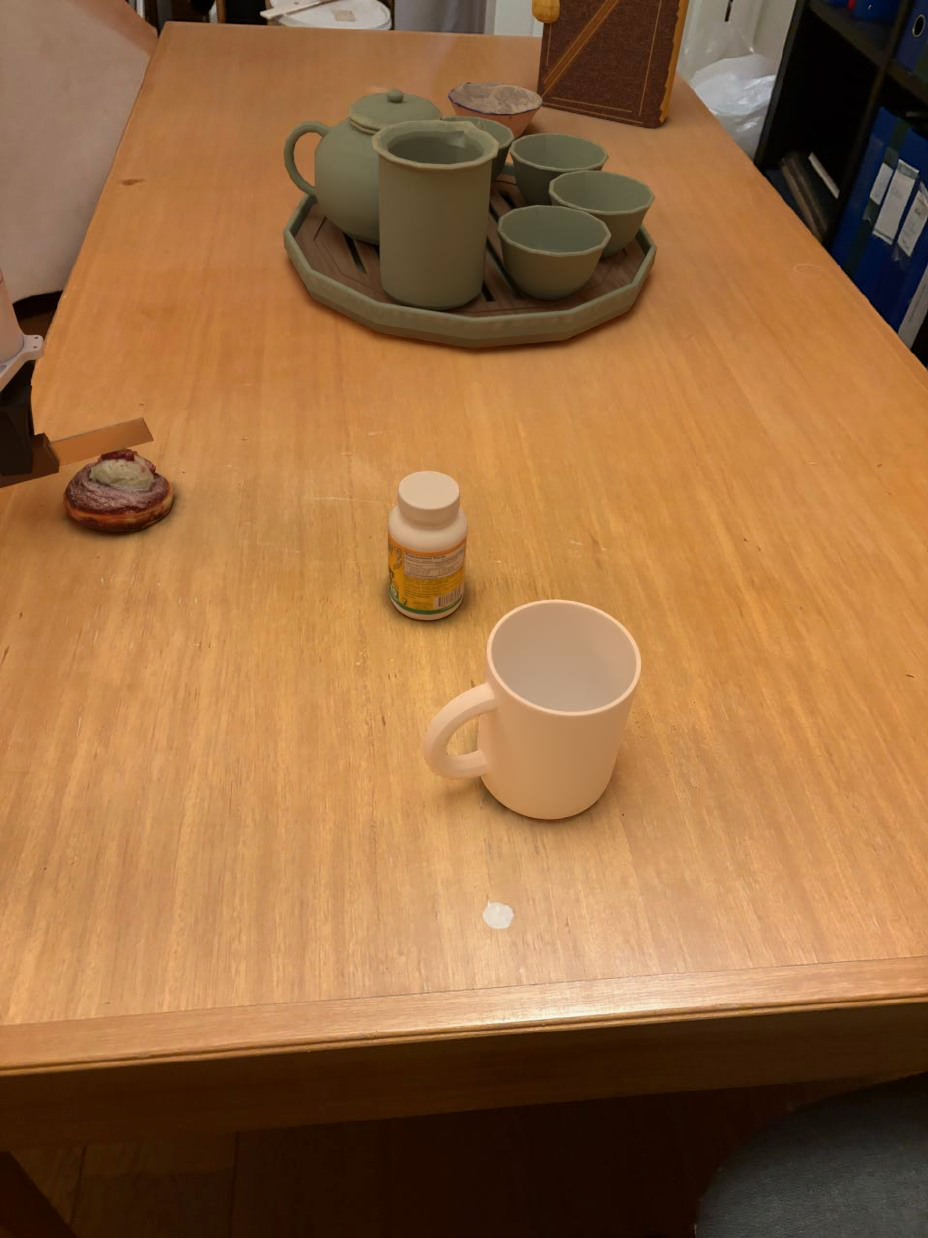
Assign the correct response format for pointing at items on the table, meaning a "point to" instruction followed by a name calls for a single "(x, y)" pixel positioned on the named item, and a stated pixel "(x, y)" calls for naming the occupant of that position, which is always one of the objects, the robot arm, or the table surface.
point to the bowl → (497, 103)
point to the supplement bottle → (427, 546)
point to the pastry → (118, 493)
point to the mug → (544, 709)
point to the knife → (79, 448)
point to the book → (610, 57)
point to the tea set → (464, 227)
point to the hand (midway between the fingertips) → (18, 462)
